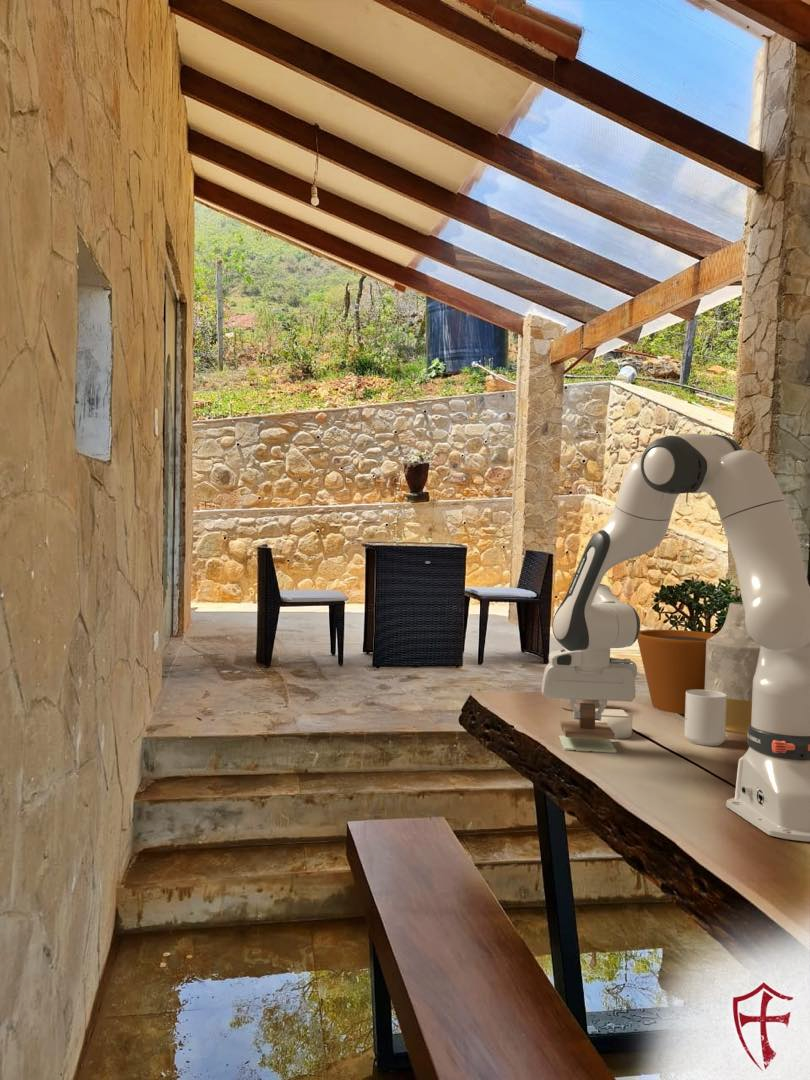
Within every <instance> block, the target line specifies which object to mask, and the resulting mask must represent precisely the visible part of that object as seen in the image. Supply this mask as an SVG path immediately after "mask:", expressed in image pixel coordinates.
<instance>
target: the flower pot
mask: <svg viewBox="0 0 810 1080" xmlns="http://www.w3.org/2000/svg"><path fill="white" fill-rule="evenodd" d="M716 634H717V633H711V632H704V631H694V630H684V629H683V630H682V629H643V630H640V632H639V636H638V638H637V640H636V641H637V645H638V647H639V652H640V657H641V661H642V665H643V671H644V675H645V679H646V682H647V688H648V692H649V696H650V701H651V705H653V706H652V707H653V708H654V707H655V708H654V709H656V708H657V709H656V710H658V709H659V711H661V712H666V713H672V714H678V715H685V699H686V691H688V690H705V665H706V641H707V639H709V638H711V637H713V636H714V635H716Z"/></svg>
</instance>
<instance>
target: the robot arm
mask: <svg viewBox="0 0 810 1080" xmlns="http://www.w3.org/2000/svg"><path fill="white" fill-rule="evenodd" d="M701 493H706V494H708V496H710V497H711V498H712V500H713V501H714V504H715V507H716V508H717V513H718V515H719V519H720V522H721V525H722V527H723V530H724V534H725V536H726V540H727V542H728V546H729V547H730V549H729V550H730V551H731V556H732V557H733V561H734V564H735V568H736V573H737V574H736V575H737V579H738V580H737V581H738V586H739V592H740V598H741V601H742V602H741V603H743V606H744V611H745V624H746V628H747V631H748V633H749V635H750V636H751V637H752V639H753V640H754V641H755V642H756V643H758V644H759V645H761V646H760V652H759V658H758V663H757V668H756V672H755V675H754V678H753V690H752V717H751V724H750V725H749V727H748V732H747V734H746V735H747V746H748V748H747V751H746V752H745V754H743V756H741V757H740V758H739V759H738V762H737V770H736V771H737V772H736V782H735V793H734V797H732V798H728V799H727V800H726V803H725V807H726V808H727V809H729V810H731V812H733V813H735V814H737V815H738V816H739V817H741V818H743V819H744V820H746V821H747V822H749V823H750V824H751V825H753V826H755V827H756V828H758V829H759V830H761V832H764V833H765V834H766V835H768V836H771V837H776V838H779V839H780V838H781V839H784V840H792V841H798V842H799V841H800V842H809V843H810V584H809V580H808V578H807V574H806V573H807V572H806V568H805V565H804V564H805V563H804V559H803V555H802V546H801V544H802V543H801V542H800V539H799V535H798V533H797V530H796V527H795V525H794V521H793V519H792V516H791V513H790V511H789V508H788V505H787V502H786V500H785V497H784V494H783V492H782V490H781V487H780V484H779V483H778V481H777V479H776V477H775V474H774V473H773V470H771V468H770V466H769V464H768V463H767V461H766V460H765V458H764V457H763V456H762V454H760V453H758V452H757V451H755V450H750V449H749V450H748V449H742V447H741V445H740V444H739V443H738V442H737V441H735V440H734V439H733V438H731V437H728V436H726V435H723V434H722V435H721V434H703V433H702V434H700V433H685V434H683V433H682V434H678V435H667V436H663V437H659V438H658V439H655V440H654V441H652V442H651V443H650V444H649V445H647V447H646V448H645V449H644V450H643V453H642V455H641V456H639V457H637V458H635V459H634V460H633V461H632V462H631V463H630V464H629V467H628V469H627V470H626V472H625V474H624V477H623V480H622V482H621V484H620V487H619V490H618V493H617V496H616V500H615V503H614V508H613V510H612V513H611V515H610V516H609V518H608V519H607V522H606V523H605V524H604V525H603V526H602V527H601V529H600V530H599V531H597V532H596V533H594V534H593V535H592V536H591V537H590V539H589V541H588V543H587V544H586V547H585V549H584V551H583V554H582V557H581V559H580V560H579V563H578V565H577V568H576V570H575V572H574V574H573V577H572V579H571V582H570V585H569V587H568V590H567V591H566V594H565V596H564V598H563V600H562V602H561V603H560V604H559V606H558V607H557V609H556V611H555V613H554V615H553V618H552V625H551V626H552V629H551V630H552V634H553V636H554V639H556V641H557V642H558V643H559V644H560V645H561V647H563V648H561V649H557V650H553V651H550V652H549V654H548V662H549V663H548V664H546V666H545V668H544V670H543V671H544V672H543V676H542V681H541V693H542V695H543V696H544V697H545V698H547V699H548V698H549V699H561V698H563V699H569V703H570V705H571V707H572V709H573V711H572V712H573V715H572V716H573V717H572V718H573V720H579V719H580V720H581V711H580V710H576V708H575V706H574V704H576V699H584V700H599V703H600V704H601V706H600V707H599V709H598V711H595V720H599V721H601V714H602V712H603V711H604V709H607V708H606V707H607V706H608V702H609V701H610V702H611V701H612V702H626V703H627V702H633V701H634V700H635V699H636V693H637V692H636V681H635V678H636V677H637V673H638V667H637V663H635V662H634V661H633V660H631V659H630V658H619V657H618V658H617V657H611V649H625V648H628V647H631V646H632V645H634V643H635V642H637V641H638V640H637V638H638V636H639V632H640V631H641V619H640V616H639V614H638V612H637V610H636V609H635V608H634V607H633V606H632V604H629V603H626V602H623V601H622V600H620V599H619V598H618V597H616V596H615V595H614V594H613V592H612V590H611V588H610V586H608V585H606V584H603V583H602V580H603V579H604V576H605V575H606V574H607V572H608V571H610V569H611V570H612V568H613V567H614V566H617V565H619V564H621V563H624V562H625V561H627V560H631V559H633V558H636V557H639V556H642V555H645V554H646V555H647V554H648V553H649V552H651V551H653V550H655V549H656V548H657V547H658V546H659V545H660V544H661V543H662V542H663V540H664V538H665V536H666V534H667V532H668V529H669V526H670V522H671V519H672V516H673V515H672V514H673V510H674V507H675V503H676V500H677V499H678V497H679V495H680V494H701ZM601 583H602V584H601Z"/></svg>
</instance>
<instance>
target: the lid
mask: <svg viewBox="0 0 810 1080" xmlns="http://www.w3.org/2000/svg"><path fill="white" fill-rule="evenodd" d="M595 709H596V706H595V705H594V703H580V711H581V720H580V719H578V720H560V721H559V722H560V724H559V726H560V728H561V730H562V732H563V736H565V737H575V738H594V739H609V740H616V739H615V734H614V732H613V731H612V729H611V728H610V727H609V725H608V724H607V723H601V722H595Z"/></svg>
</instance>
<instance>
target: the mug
mask: <svg viewBox="0 0 810 1080" xmlns="http://www.w3.org/2000/svg"><path fill="white" fill-rule="evenodd" d="M726 708H727V695H726V694H724V693H721V692H717V691H710V690H688V691H686V699H685V714H684V728H683V729H684V730H683V735H684V737H685V739H686V740H687V741H688V742H689V743H691V744H694V745H699V746H709V747H717V746H720V745H722V744H723V743H724V742H725V740H726Z"/></svg>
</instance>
